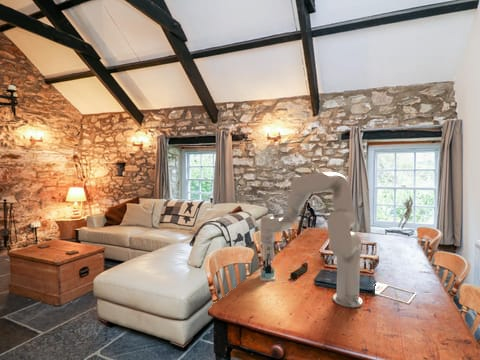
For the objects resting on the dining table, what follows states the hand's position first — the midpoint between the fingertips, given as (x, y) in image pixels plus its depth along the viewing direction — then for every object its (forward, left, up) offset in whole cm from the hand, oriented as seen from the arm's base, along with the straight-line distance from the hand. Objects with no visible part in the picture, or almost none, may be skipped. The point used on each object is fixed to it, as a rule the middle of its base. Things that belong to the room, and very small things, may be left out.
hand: (267, 270), depth 156 cm
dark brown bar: (+5, -19, -5) cm, 21 cm away
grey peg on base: (0, 0, -4) cm, 4 cm away
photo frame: (-20, -58, -5) cm, 62 cm away
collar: (0, 0, -3) cm, 3 cm away
